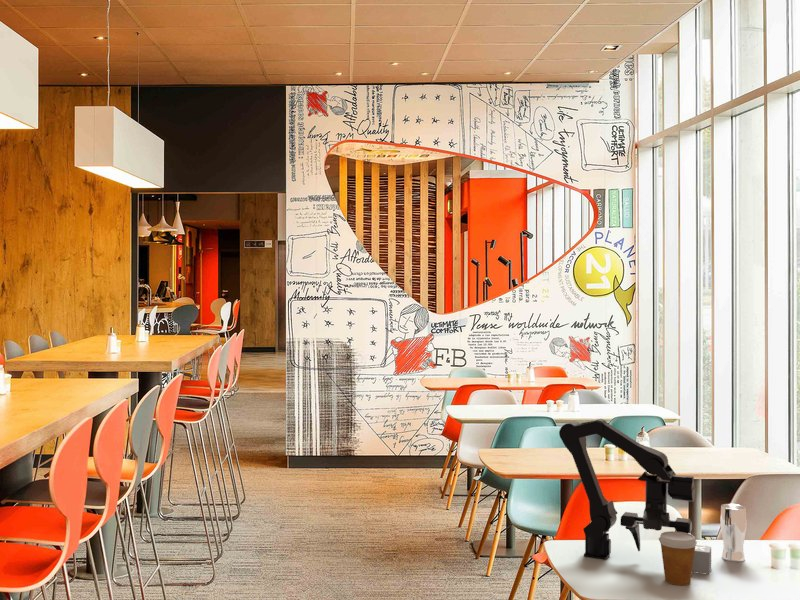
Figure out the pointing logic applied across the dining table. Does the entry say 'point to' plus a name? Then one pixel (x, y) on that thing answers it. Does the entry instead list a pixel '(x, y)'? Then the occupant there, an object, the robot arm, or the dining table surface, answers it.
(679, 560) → the disposable coffee cup
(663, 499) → the robot arm
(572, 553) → the dining table surface
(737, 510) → the beer glass
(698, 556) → the grey cube
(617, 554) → the dining table surface
